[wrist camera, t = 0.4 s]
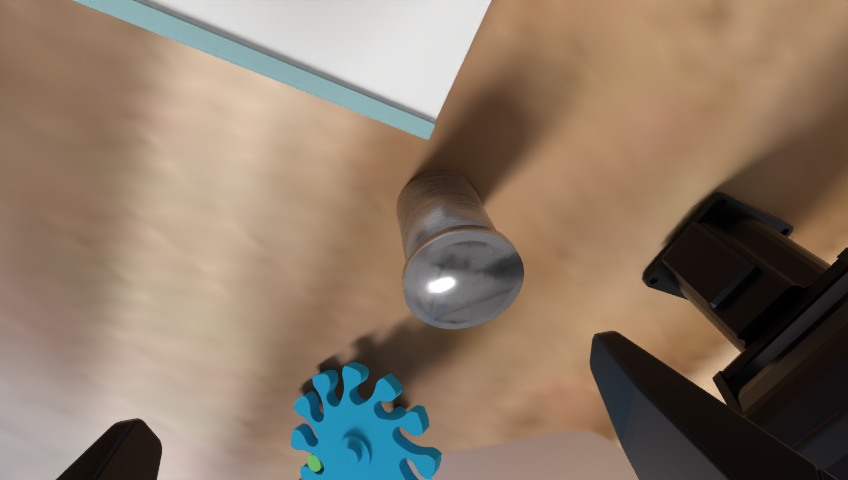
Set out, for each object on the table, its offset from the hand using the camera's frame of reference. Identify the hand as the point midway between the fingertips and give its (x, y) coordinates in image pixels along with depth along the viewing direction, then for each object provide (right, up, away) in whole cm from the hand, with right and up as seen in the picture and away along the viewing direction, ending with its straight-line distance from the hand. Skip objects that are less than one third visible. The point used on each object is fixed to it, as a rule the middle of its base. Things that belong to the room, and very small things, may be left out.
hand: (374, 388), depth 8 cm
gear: (-4, -7, +20) cm, 22 cm away
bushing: (+2, +5, +12) cm, 13 cm away
